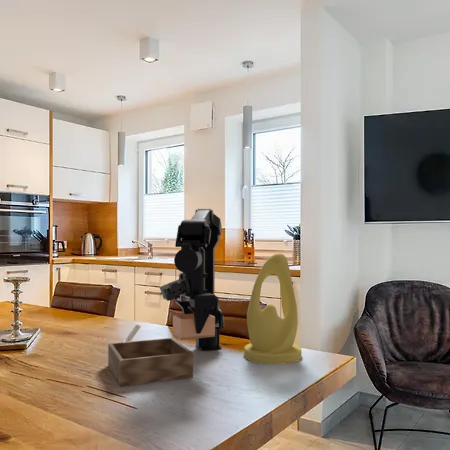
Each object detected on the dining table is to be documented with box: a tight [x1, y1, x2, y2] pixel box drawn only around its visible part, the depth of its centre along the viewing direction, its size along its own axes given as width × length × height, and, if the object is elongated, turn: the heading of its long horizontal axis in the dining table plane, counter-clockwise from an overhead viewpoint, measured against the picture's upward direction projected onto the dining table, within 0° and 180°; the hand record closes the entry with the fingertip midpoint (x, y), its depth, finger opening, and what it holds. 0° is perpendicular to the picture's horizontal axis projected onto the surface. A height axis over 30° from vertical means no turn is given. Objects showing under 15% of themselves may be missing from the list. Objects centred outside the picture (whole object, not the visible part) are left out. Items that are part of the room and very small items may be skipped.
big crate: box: [107, 337, 194, 387], centre depth 117 cm, size 18×18×6 cm
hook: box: [123, 322, 142, 342], centre depth 132 cm, size 8×12×7 cm
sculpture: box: [243, 253, 302, 365], centre depth 133 cm, size 17×17×30 cm
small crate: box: [172, 313, 215, 341], centre depth 115 cm, size 9×6×5 cm
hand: (193, 330), depth 115 cm, fingers closed on small crate, 6 cm apart
